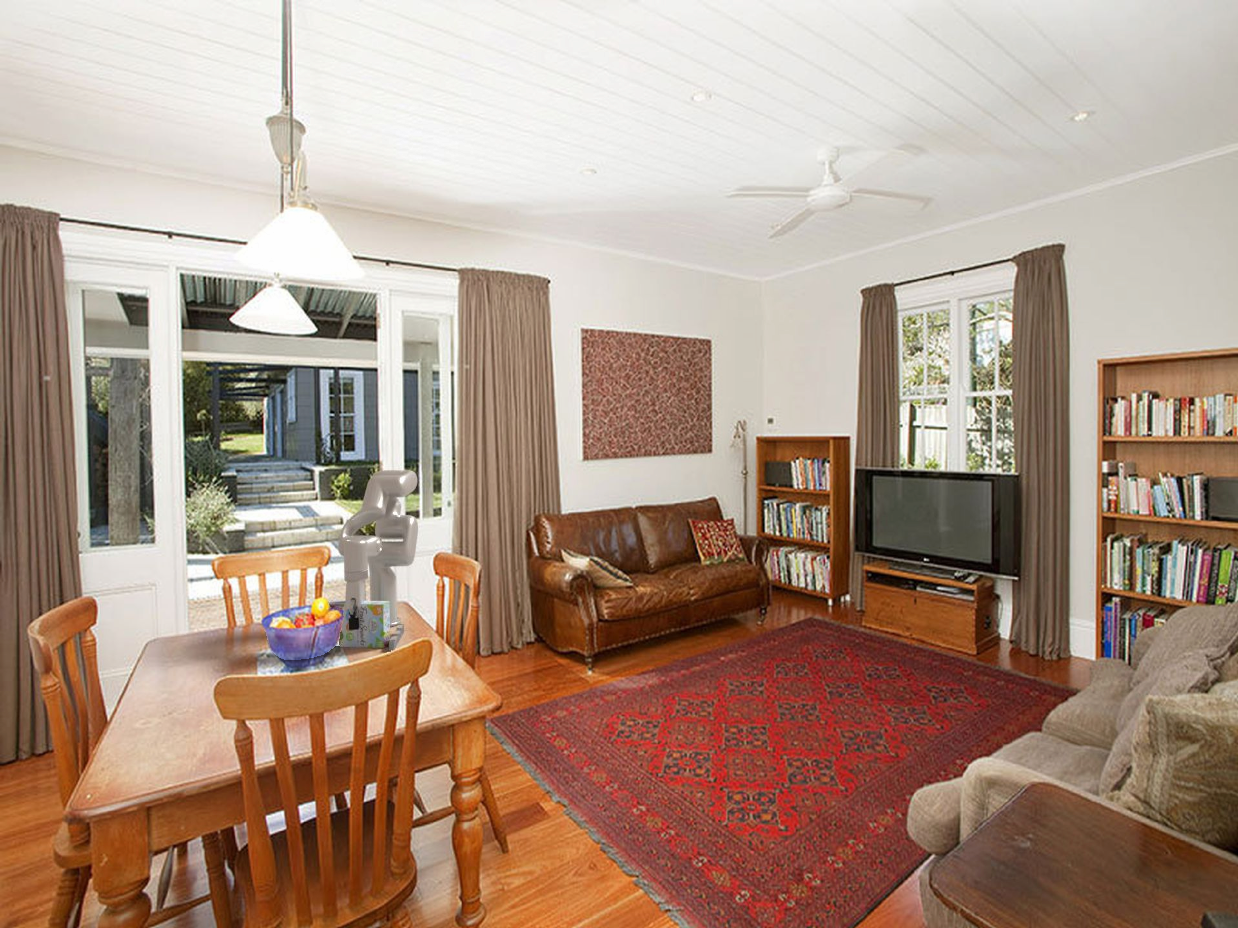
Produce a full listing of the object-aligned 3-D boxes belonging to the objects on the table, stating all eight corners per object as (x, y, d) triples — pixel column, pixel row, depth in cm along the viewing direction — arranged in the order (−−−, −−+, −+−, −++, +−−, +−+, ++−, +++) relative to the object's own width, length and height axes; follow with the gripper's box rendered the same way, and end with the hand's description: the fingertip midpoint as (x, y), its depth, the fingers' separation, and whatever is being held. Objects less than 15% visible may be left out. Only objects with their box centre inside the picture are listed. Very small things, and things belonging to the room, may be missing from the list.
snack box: (391, 643, 218) (390, 600, 218) (383, 648, 213) (382, 604, 212) (332, 642, 221) (331, 599, 220) (323, 647, 215) (322, 603, 215)
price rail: (399, 632, 232) (399, 623, 231) (404, 631, 232) (404, 623, 232) (388, 651, 210) (388, 641, 210) (394, 650, 210) (394, 641, 210)
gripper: (350, 571, 224) (351, 619, 224) (338, 581, 207) (339, 633, 207) (373, 570, 225) (373, 618, 226) (362, 579, 208) (363, 632, 209)
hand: (357, 625), depth 216 cm, fingers open, 8 cm apart
